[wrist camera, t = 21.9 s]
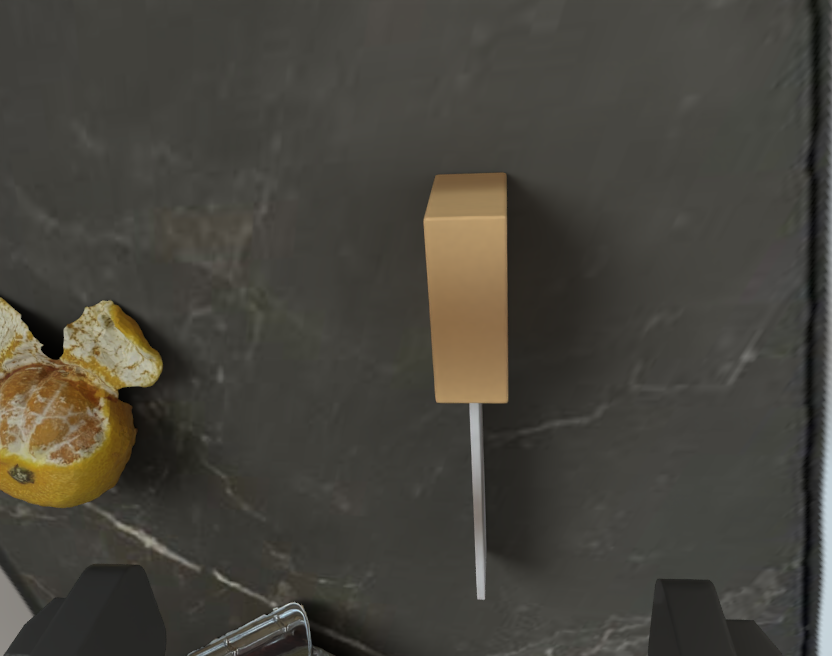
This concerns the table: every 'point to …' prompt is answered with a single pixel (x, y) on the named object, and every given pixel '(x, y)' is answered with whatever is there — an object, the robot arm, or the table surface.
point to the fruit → (69, 405)
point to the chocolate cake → (268, 636)
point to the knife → (469, 310)
